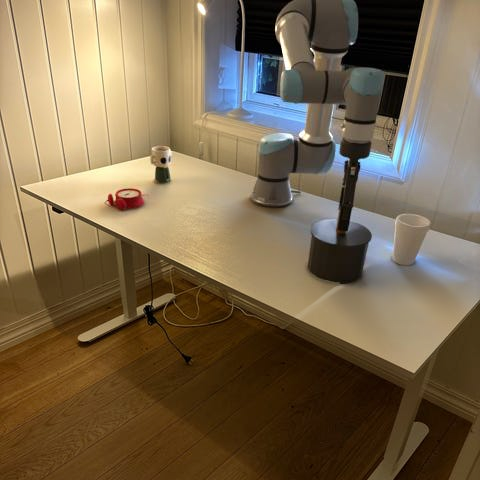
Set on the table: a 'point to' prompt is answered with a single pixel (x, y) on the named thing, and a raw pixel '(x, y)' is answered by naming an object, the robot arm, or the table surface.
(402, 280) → the table surface
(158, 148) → the character mug
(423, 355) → the table surface
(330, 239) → the lid
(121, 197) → the alarm clock
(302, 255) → the table surface
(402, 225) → the foam cup
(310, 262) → the canister
